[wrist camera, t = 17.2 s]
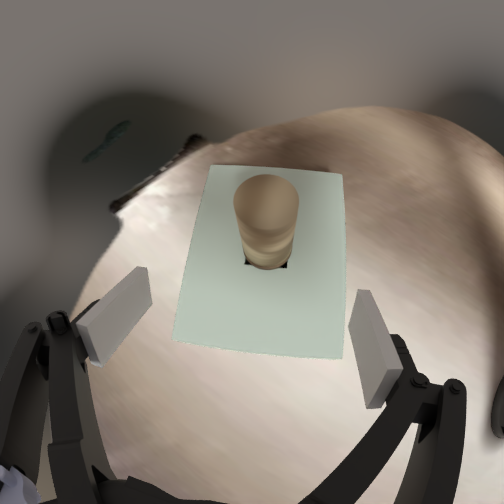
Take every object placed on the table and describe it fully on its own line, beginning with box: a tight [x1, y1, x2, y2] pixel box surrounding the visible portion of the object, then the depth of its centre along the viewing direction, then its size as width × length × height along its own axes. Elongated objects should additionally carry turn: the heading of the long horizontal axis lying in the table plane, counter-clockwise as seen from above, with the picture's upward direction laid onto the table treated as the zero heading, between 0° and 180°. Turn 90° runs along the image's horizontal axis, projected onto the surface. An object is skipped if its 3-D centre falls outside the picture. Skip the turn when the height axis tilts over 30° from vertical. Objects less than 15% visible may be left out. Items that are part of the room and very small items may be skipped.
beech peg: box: [233, 174, 299, 270], centre depth 31 cm, size 6×6×15 cm
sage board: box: [172, 165, 346, 360], centre depth 36 cm, size 20×26×5 cm
